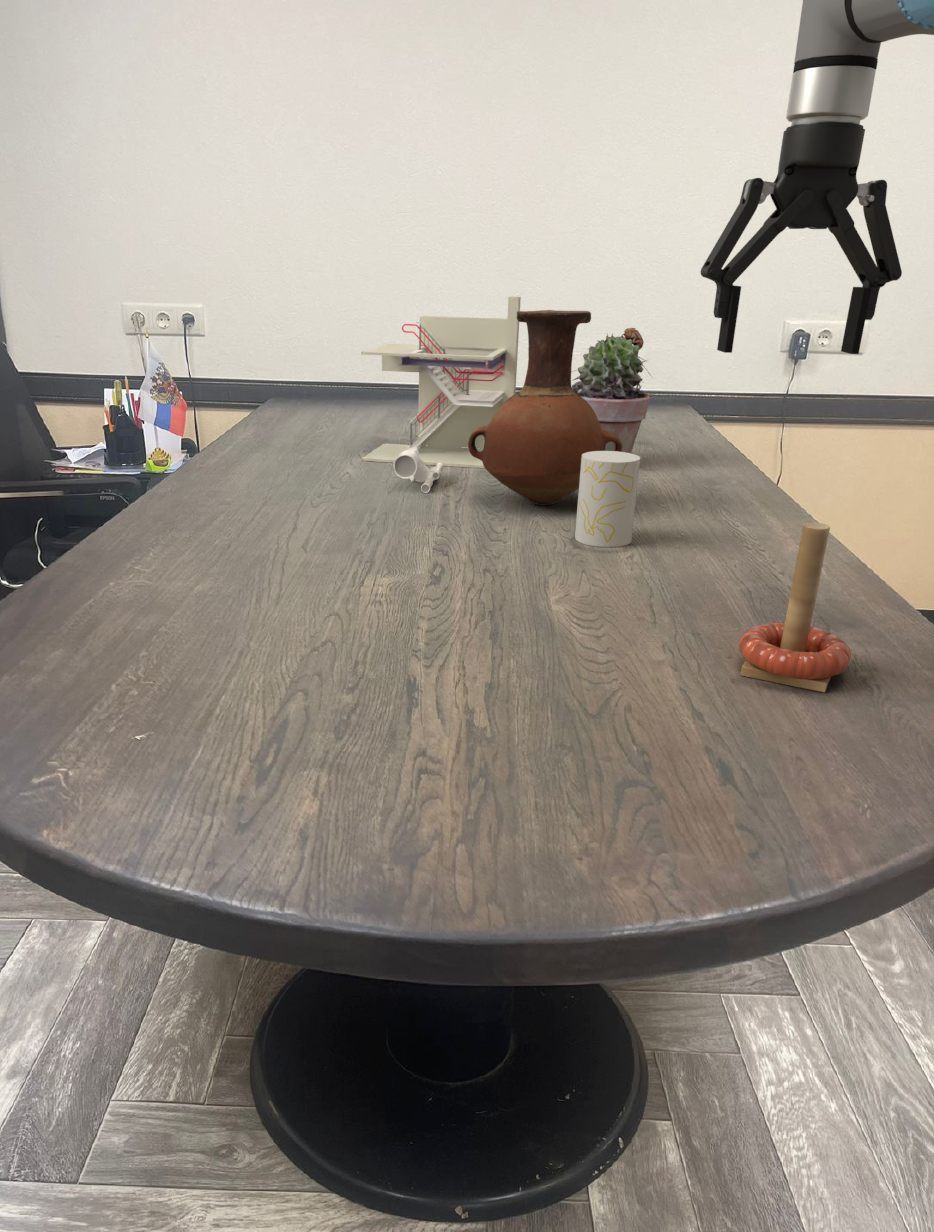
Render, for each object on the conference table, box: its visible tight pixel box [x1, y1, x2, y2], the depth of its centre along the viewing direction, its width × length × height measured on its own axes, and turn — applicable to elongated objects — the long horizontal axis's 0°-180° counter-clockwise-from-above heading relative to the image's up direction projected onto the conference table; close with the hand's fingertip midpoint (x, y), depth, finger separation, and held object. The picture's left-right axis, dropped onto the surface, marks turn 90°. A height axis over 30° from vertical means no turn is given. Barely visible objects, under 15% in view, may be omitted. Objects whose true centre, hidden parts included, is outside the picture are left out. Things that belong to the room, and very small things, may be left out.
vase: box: [468, 309, 622, 506], centre depth 152 cm, size 25×20×30 cm
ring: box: [738, 622, 852, 679], centre depth 95 cm, size 10×10×3 cm
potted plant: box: [571, 327, 659, 454], centre depth 182 cm, size 18×20×25 cm
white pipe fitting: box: [393, 447, 444, 494], centre depth 169 cm, size 8×14×5 cm
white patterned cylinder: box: [574, 451, 641, 548], centre depth 136 cm, size 8×8×12 cm
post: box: [740, 521, 832, 693], centre depth 93 cm, size 8×8×15 cm
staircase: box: [360, 296, 521, 469], centre depth 184 cm, size 28×18×30 cm, turn 76°
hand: (787, 352), depth 102 cm, fingers open, 13 cm apart
